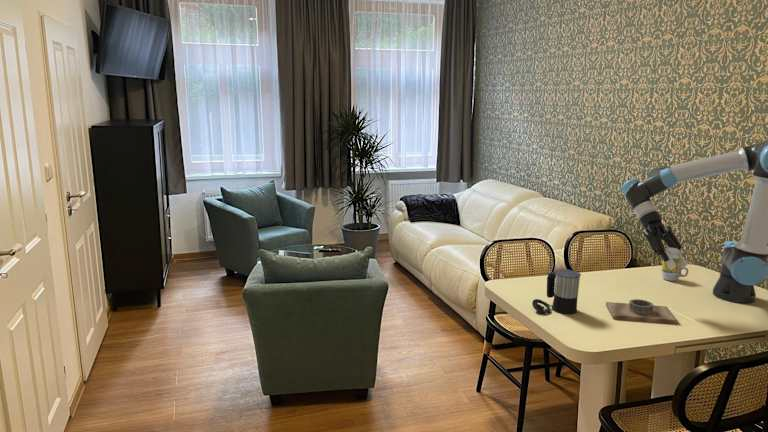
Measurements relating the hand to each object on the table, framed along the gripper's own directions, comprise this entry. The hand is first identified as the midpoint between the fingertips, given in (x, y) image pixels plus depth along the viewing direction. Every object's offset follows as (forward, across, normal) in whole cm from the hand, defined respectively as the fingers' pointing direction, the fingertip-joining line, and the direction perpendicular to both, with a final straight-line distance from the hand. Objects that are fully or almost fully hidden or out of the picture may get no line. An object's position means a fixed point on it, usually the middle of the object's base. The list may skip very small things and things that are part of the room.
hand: (678, 267), depth 218 cm
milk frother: (-1, +40, -27) cm, 49 cm away
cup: (-6, -35, -31) cm, 47 cm away
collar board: (+10, +14, -15) cm, 23 cm away
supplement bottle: (0, 0, -5) cm, 5 cm away
